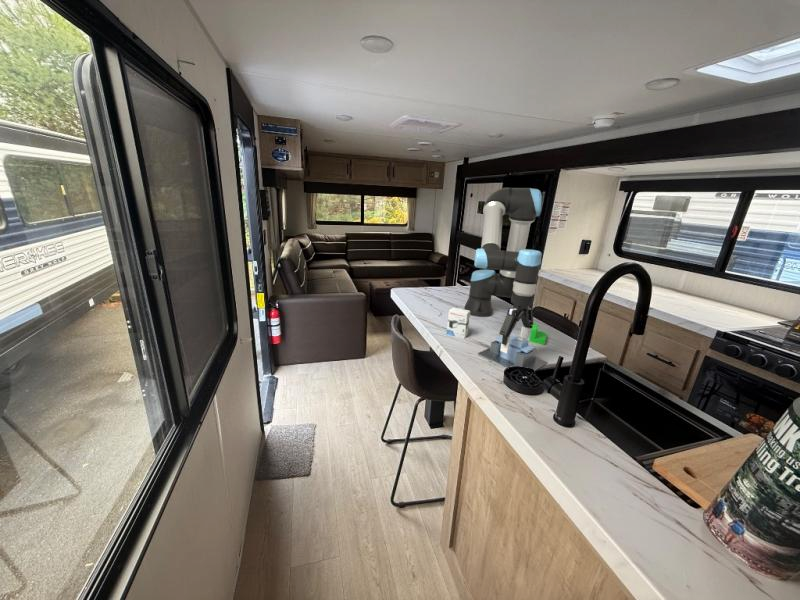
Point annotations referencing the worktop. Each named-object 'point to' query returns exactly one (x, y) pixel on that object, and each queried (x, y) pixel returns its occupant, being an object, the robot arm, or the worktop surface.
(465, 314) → the ink box
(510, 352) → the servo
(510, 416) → the worktop surface
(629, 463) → the worktop surface
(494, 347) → the chassis pocket
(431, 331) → the worktop surface
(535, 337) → the mechanical part
